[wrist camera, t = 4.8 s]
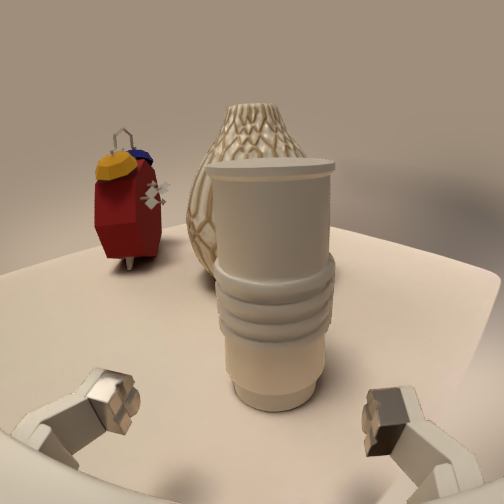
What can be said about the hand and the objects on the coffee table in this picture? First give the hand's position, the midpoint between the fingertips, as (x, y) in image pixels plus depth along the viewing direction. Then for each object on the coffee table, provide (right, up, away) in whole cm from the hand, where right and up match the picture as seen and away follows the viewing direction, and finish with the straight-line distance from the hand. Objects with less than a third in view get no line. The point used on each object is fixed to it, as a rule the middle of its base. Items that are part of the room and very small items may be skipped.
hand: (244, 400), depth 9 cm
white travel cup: (+2, -5, +12) cm, 13 cm away
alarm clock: (-16, +4, +37) cm, 40 cm away
